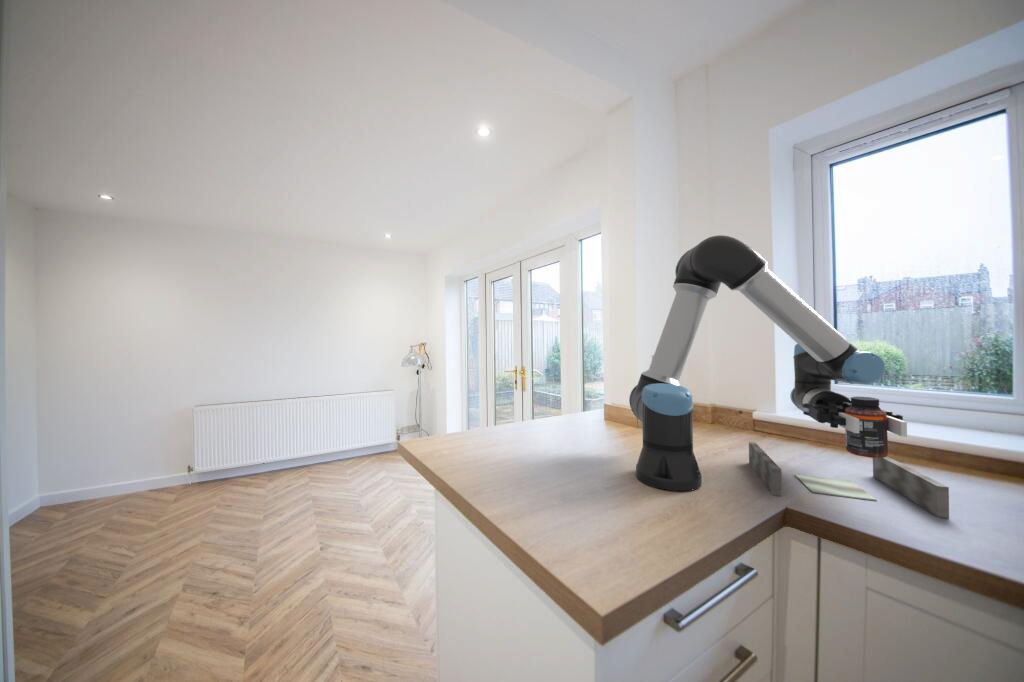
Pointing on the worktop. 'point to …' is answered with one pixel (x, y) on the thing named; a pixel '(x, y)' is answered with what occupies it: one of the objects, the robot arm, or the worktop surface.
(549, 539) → the worktop surface
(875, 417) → the supplement bottle
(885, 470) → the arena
